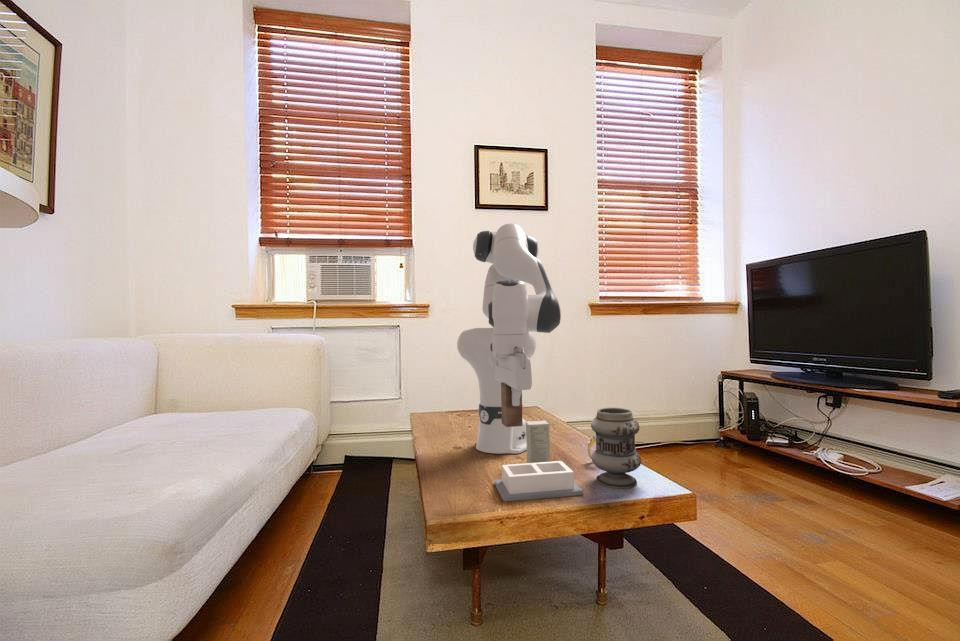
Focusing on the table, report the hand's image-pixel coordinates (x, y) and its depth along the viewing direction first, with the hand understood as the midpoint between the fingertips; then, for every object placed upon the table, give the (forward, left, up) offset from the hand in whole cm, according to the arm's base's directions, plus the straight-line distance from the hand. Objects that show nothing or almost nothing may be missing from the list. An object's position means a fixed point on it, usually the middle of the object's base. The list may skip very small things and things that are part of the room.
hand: (511, 403), depth 103 cm
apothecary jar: (-23, +15, -21) cm, 34 cm away
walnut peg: (0, 0, -5) cm, 5 cm away
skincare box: (-19, -7, -21) cm, 29 cm away
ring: (-33, +4, -21) cm, 39 cm away
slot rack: (-5, +4, -21) cm, 22 cm away
